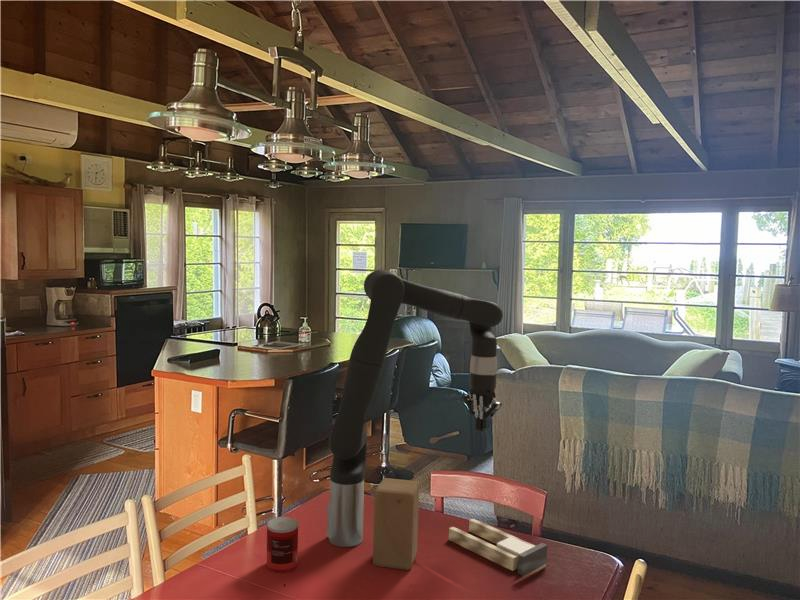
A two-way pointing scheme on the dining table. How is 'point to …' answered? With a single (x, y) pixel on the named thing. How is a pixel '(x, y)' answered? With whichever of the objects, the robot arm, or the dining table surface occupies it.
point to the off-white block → (514, 546)
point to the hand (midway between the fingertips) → (480, 430)
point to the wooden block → (395, 523)
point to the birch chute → (526, 560)
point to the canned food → (282, 544)
